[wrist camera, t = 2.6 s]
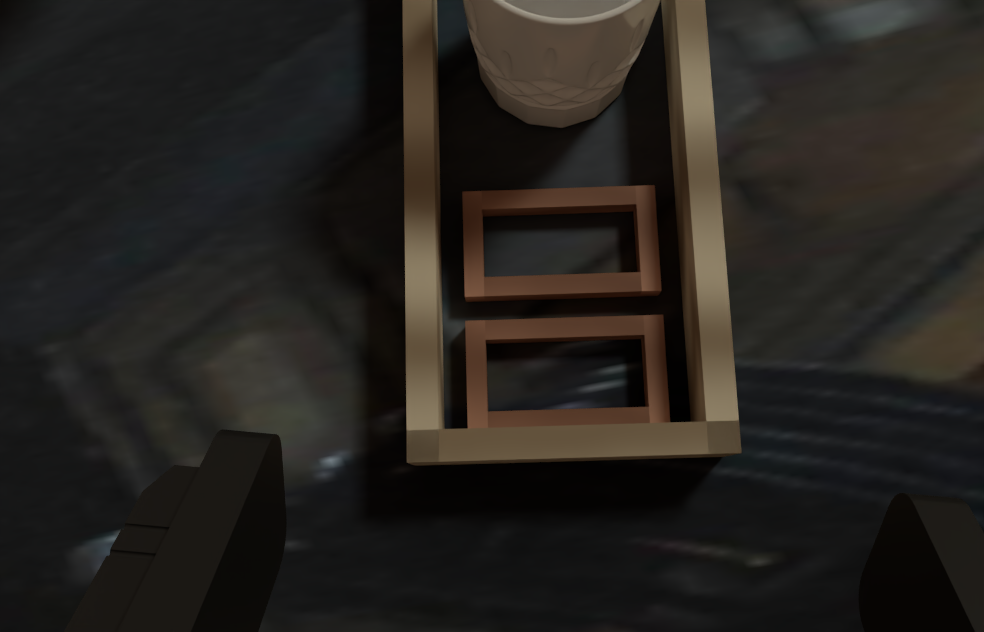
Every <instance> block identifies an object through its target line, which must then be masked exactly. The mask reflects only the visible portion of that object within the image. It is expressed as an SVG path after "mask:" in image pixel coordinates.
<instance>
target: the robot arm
mask: <svg viewBox="0 0 984 632" xmlns="http://www.w3.org/2000/svg"><path fill="white" fill-rule="evenodd" d="M285 538H286V505H285V491H284V476H283V462H282V448H281V441H280V438H279V436H278V435H277V434H266V433H255V432H244V431H233V430H220V431H219V432H218V433H217V434H216V436H215V438H214V439H213V441H212V443H211V445H210V447H209V449H208V451H207V453H206V455H205V457H204V459H203V461H202V463H201V465H200V467H189V466H178V465H174V466H173V467H172V468H170V469H169V470H168V471H167V472H165V473H164V474H163V475H162V476H161V477H159V478H158V479H157V480H156V481H155V482H153V483H152V484H151V485H150V486H149V487H147V488H146V489H145V490H144V491H143V492H142V494H141V495H140V497H139V499H138V501H137V503H136V504H135V506H134V508H133V510H132V512H131V513H130V515H129V517H128V519H127V520H126V522H125V528H124V530H123V529H121V531H120V533H119V535H118V537H117V538H116V540H115V542H114V544H113V545H112V547H111V549H110V555H109V556H106V558H105V560H104V561H103V563H102V565H101V567H100V569H99V570H98V572H97V574H96V576H95V578H94V579H93V581H92V583H91V585H90V586H89V588H88V590H87V592H86V594H85V595H84V597H83V599H82V601H81V603H80V604H79V606H78V608H77V610H76V611H75V613H74V615H73V617H72V619H71V620H70V622H69V624H68V626H67V627H66V629H65V631H64V632H258V630H259V627H260V624H261V621H262V619H263V616H264V613H265V610H266V607H267V604H268V601H269V598H270V595H271V592H272V589H273V586H274V583H275V580H276V577H277V574H278V571H279V568H280V565H281V561H282V557H283V552H284V546H285ZM859 610H860V616H861V621H862V624H863V628H864V630H865V632H984V533H983V531H982V529H981V527H980V525H979V524H978V522H977V520H976V518H975V516H974V515H973V513H972V511H971V509H970V508H969V506H968V505H967V504H966V502H965V501H963V500H962V499H959V498H950V497H939V496H928V495H917V494H906V493H899V494H897V495H896V496H895V497H894V498H893V499H892V501H891V503H890V505H889V507H888V510H887V512H886V515H885V517H884V520H883V523H882V525H881V528H880V530H879V533H878V535H877V538H876V540H875V543H874V545H873V548H872V550H871V553H870V555H869V558H868V560H867V563H866V566H865V568H864V571H863V573H862V576H861V581H860V587H859Z"/></svg>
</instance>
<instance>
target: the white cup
mask: <svg viewBox="0 0 984 632" xmlns="http://www.w3.org/2000/svg"><path fill="white" fill-rule="evenodd" d="M660 1H661V0H463V6H464V11H465V16H466V20H467V24H468V29H469V33H470V37H471V41H472V44H473V47H474V50H475V52H476V55H477V60H478V66H479V72H480V78H481V80H482V82H483V83H484V85H485V86H486V88H487V89H488V91H489V92H490V94H491V95H492V97H493V99H494V100H495V102H496V103H497V105H498V106H499V107H500V108H502V109H504V110H505V111H507V112H509V113H510V114H512V115H514V116H515V117H517V118H519V119H520V120H522V121H524V122H525V123H527V124H532V125H540V126H549V127H558V128H564V127H567V126H570V125H573V124H577V123H580V122H583V121H586V120H589V119H592V118H595V117H596V116H597V115H599V114H600V113H601V112H602V111H603V110H604V109H605V108H606V107H607V106H608V105H609V104H610V103H611V102H613V101H614V100H615V99H616V98H617V97H618V96H619V95H620V93H621V91H622V88H623V86H624V83H625V80H626V78H627V75H628V72H629V70H630V68H631V66H632V65H633V63H634V62H635V60H636V59H637V57H638V55H639V53H640V50H641V48H642V46H643V44H644V41H645V39H646V37H647V35H648V32H649V29H650V27H651V24H652V21H653V19H654V16H655V13H656V11H657V9H658V6H659V4H660Z"/></svg>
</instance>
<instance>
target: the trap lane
mask: <svg viewBox="0 0 984 632" xmlns="http://www.w3.org/2000/svg"><path fill="white" fill-rule="evenodd" d="M661 6H662V20H663V35H664V49H665V63H666V77H667V91H668V106H669V120H670V134H671V148H672V162H673V177H674V191H675V205H676V219H677V233H678V248H679V262H680V276H681V290H682V304H683V319H684V333H685V347H686V361H687V375H688V390H689V404H690V418H691V422H670V411H669V395H668V380H667V365H666V350H665V335H664V320H663V315H637V316H605V317H573V318H542V319H510V320H478V321H465V329H466V374H467V418H468V428H467V429H444V381H443V324H442V266H441V209H440V151H439V93H438V36H437V0H403V97H404V205H405V313H406V421H407V463H409V464H412V465H415V466H424V465H458V464H493V463H527V462H562V461H596V460H631V459H665V458H700V457H725V456H729V455H734V454H739V453H741V442H740V429H739V417H738V405H737V392H736V380H735V367H734V355H733V343H732V330H731V318H730V306H729V293H728V281H727V268H726V256H725V244H724V231H723V219H722V206H721V194H720V182H719V169H718V157H717V145H716V132H715V120H714V107H713V95H712V83H711V70H710V58H709V46H708V33H707V21H706V8H705V0H661ZM462 195H463V240H464V284H465V300H466V302H484V301H515V300H546V299H577V298H609V297H640V296H658V295H659V293H660V292H661V291H662V289H661V274H660V259H659V244H658V229H657V214H656V198H655V185H643V186H613V187H584V188H554V189H525V190H495V191H466V192H462ZM606 212H633V214H634V230H635V247H636V263H637V272H627V273H596V274H565V275H535V276H504V277H484V241H483V217H487V216H517V215H546V214H576V213H606ZM627 339H641V345H642V362H643V378H644V394H645V407H626V408H592V409H559V410H526V411H492V412H488V390H487V352H486V344H499V343H531V342H563V341H595V340H627Z"/></svg>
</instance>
